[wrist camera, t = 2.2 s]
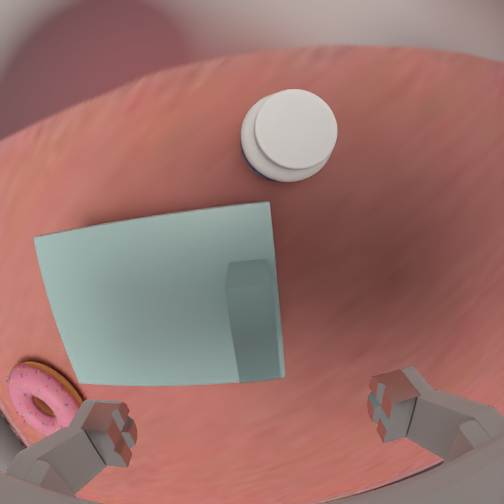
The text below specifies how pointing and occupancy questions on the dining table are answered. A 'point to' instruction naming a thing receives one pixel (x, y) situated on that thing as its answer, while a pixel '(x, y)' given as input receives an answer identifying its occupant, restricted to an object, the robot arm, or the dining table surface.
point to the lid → (168, 297)
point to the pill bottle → (288, 135)
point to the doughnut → (42, 397)
